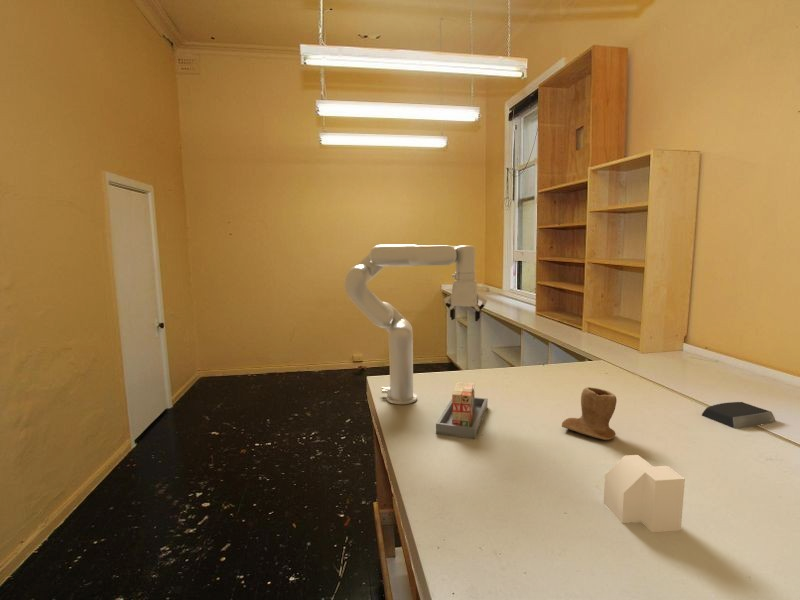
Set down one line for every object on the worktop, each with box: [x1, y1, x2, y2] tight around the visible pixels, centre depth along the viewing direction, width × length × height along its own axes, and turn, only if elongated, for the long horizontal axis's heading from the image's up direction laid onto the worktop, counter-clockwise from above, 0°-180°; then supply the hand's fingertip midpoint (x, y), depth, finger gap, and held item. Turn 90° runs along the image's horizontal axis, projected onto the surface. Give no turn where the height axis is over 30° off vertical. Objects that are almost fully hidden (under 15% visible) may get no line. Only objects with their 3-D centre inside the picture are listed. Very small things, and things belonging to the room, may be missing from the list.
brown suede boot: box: [561, 386, 617, 441], centre depth 137 cm, size 15×12×15 cm
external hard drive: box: [701, 401, 776, 430], centre depth 147 cm, size 13×19×4 cm
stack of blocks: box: [451, 381, 475, 427], centre depth 149 cm, size 21×6×12 cm, turn 166°
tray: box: [435, 396, 488, 440], centre depth 149 cm, size 13×28×4 cm, turn 160°
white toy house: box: [603, 454, 686, 533], centre depth 94 cm, size 11×11×12 cm
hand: (464, 320), depth 165 cm, fingers open, 9 cm apart
